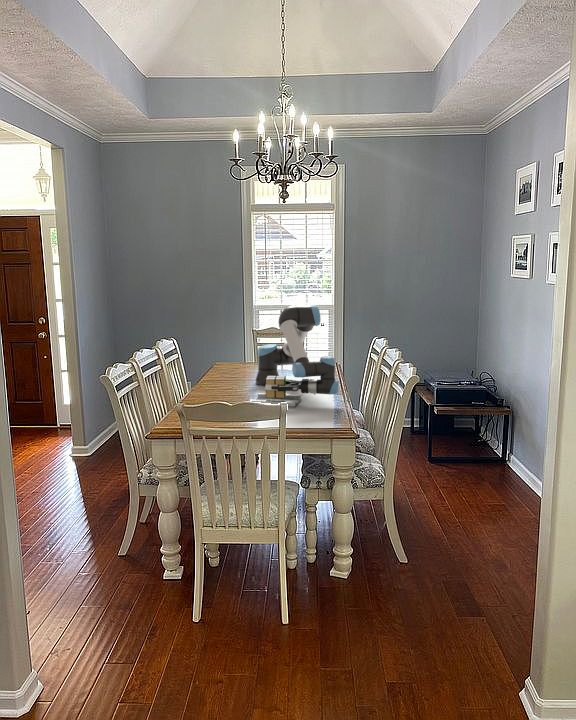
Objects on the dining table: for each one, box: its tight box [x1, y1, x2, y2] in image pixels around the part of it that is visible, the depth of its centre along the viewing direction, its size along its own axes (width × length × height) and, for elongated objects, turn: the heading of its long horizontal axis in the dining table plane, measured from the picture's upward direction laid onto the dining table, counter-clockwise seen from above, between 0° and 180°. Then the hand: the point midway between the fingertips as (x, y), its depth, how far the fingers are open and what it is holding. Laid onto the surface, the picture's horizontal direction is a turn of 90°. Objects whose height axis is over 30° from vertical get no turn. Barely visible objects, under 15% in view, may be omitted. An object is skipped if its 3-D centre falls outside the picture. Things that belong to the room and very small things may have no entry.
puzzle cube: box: [265, 375, 287, 398], centre depth 314 cm, size 10×10×10 cm
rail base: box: [249, 392, 302, 409], centre depth 315 cm, size 24×17×3 cm
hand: (268, 384), depth 314 cm, fingers closed on puzzle cube, 11 cm apart
